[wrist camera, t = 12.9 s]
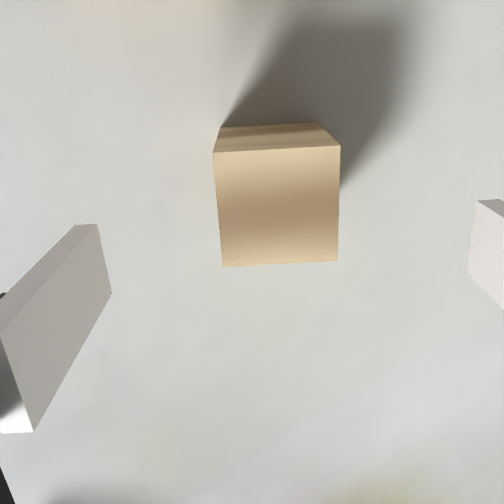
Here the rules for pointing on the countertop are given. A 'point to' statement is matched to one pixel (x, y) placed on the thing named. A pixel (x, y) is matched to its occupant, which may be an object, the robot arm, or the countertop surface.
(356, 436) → the countertop surface
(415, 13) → the countertop surface
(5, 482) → the robot arm
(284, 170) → the oak cube
